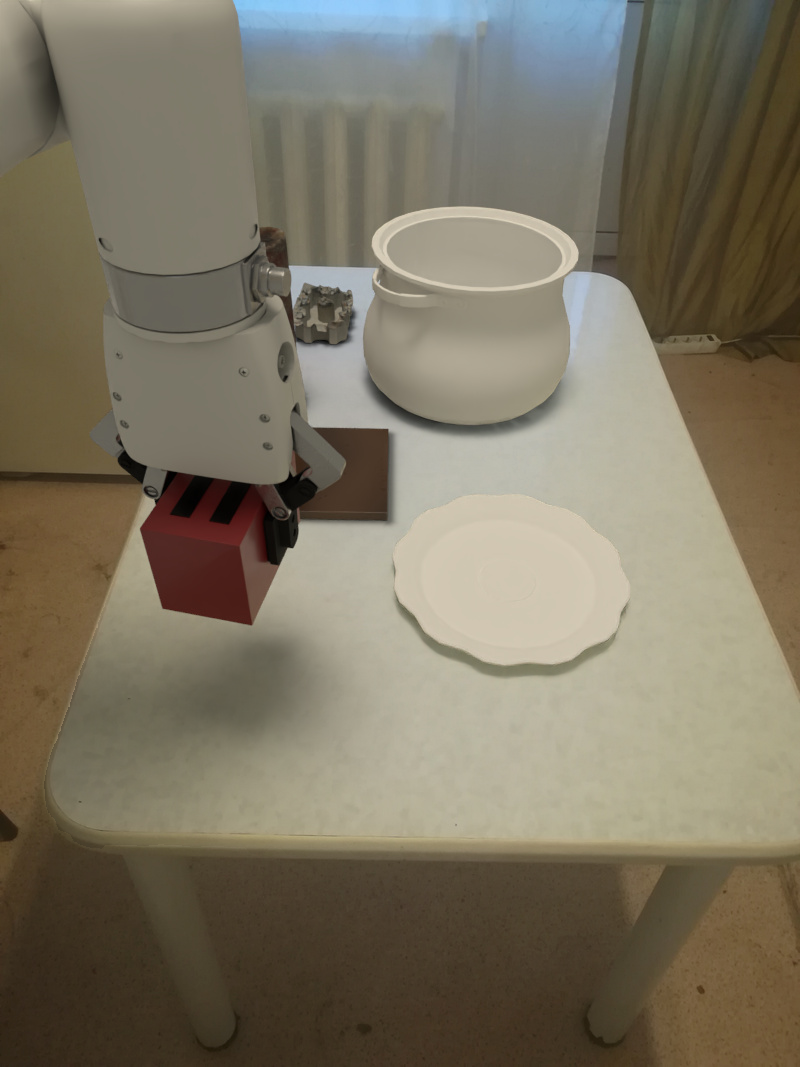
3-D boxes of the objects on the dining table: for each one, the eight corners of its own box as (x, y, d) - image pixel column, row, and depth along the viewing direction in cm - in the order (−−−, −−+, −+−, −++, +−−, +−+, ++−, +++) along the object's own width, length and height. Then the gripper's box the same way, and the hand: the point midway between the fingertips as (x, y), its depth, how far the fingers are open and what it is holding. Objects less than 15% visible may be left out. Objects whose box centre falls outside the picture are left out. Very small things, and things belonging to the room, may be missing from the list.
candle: (273, 429, 84) (253, 254, 70) (223, 408, 87) (195, 236, 73) (314, 398, 89) (303, 228, 75) (266, 379, 92) (247, 212, 78)
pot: (451, 467, 80) (464, 322, 68) (320, 370, 94) (312, 235, 82) (606, 388, 92) (639, 253, 81) (469, 312, 106) (481, 187, 94)
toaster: (306, 508, 55) (300, 428, 50) (252, 626, 47) (239, 544, 42) (228, 495, 56) (215, 415, 51) (161, 609, 47) (138, 527, 43)
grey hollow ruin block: (345, 347, 98) (345, 318, 95) (289, 343, 98) (286, 314, 95) (357, 308, 106) (357, 281, 103) (304, 305, 106) (302, 277, 103)
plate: (451, 481, 78) (452, 469, 77) (649, 550, 72) (654, 537, 70) (350, 616, 65) (349, 603, 64) (583, 716, 58) (587, 704, 57)
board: (223, 517, 73) (222, 510, 73) (245, 433, 84) (243, 425, 83) (387, 520, 74) (387, 512, 73) (388, 435, 84) (388, 428, 83)
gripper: (375, 268, 39) (373, 525, 51) (65, 231, 41) (135, 486, 53) (337, 339, 33) (344, 606, 46) (-18, 291, 35) (81, 559, 48)
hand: (231, 539), depth 49 cm, fingers closed on toaster, 6 cm apart
